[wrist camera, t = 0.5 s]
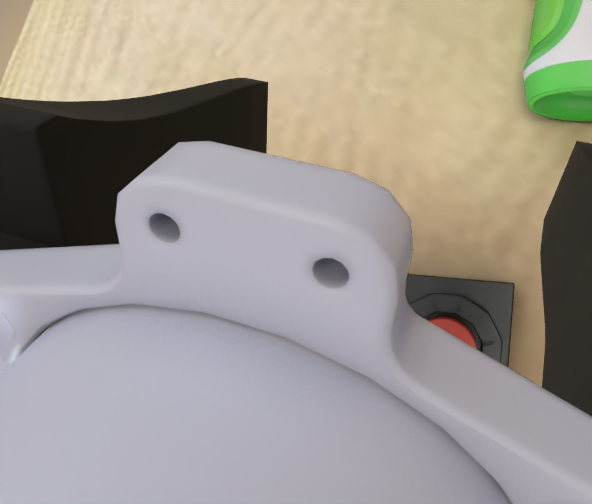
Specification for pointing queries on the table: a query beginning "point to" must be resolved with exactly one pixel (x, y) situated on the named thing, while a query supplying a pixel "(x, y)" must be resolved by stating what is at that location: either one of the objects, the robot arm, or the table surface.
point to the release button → (455, 329)
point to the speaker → (560, 60)
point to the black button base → (467, 308)
